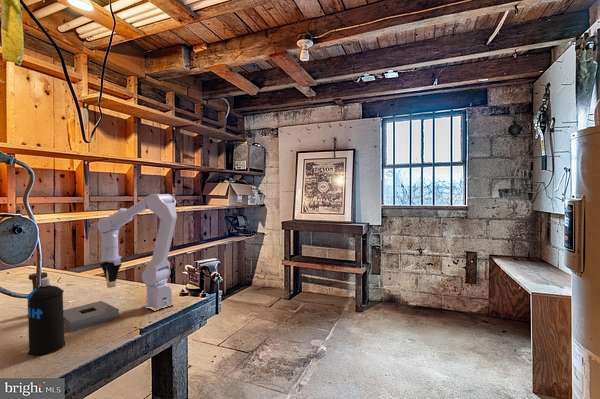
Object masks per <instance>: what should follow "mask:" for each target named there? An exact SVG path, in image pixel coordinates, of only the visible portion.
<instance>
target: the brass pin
mask: <svg viewBox="0 0 600 399" xmlns="http://www.w3.org/2000/svg"><path fill="white" fill-rule="evenodd" d="M106 273H107V280H106V288H108V289H110V288H114V287H116V284H117V283H116V281H113V282H110V281H109V277H108V272H107V269H106Z"/></svg>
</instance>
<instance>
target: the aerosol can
mask: <svg viewBox="0 0 600 399" xmlns="http://www.w3.org/2000/svg"><path fill="white" fill-rule="evenodd" d="M63 293H64V289H62V288H61V287H59V286H56V285H51V283H50V278H49V277H46V278H44V279H41V287H39V288H37V289H35V290H33V289H32V291H31V292H30V293H29V294H28V295H27V296H26V299H27V320H28V321H27V322H28V323H27V326H28V352H27V355H29V356H30V357H42V356H46V355H49V354H52V353H55V352H57V351H60V350H62V349H63V348H64V347H65V345H66V342H65V326H64V317H63V310H64V294H63Z"/></svg>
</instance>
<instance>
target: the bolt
mask: <svg viewBox="0 0 600 399" xmlns="http://www.w3.org/2000/svg"><path fill="white" fill-rule="evenodd" d="M37 273H38V272H35V273H30V274H29V275H28V280H29V281H31V284H32V291H33V290H35V288H36V278H37ZM44 278H48V273H47V272H46V271H45V272H41V279H44ZM40 287H41V286H40Z"/></svg>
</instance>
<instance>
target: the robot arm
mask: <svg viewBox="0 0 600 399" xmlns="http://www.w3.org/2000/svg"><path fill="white" fill-rule="evenodd" d="M176 204H177V200H176V199H175V198H174V197H173V195H172V194H170V193H162V194H161V193H150V194H149V195H147V196H144V197H143V198H142V199H141V200H139V201H138V202H137V203H135V204H133V205H132V206H131V207H129V208H125V207H124V208H118V210H117V211H116V212H114V213H110V214H109V216H108V217H101V218H100V219H99V220H98V221H97V224H96V225H97V226H96V227H97V230H98V231H99V232H100V234H101V236H100V240H101V256H100V262H103V263H99V266H100V268H101V269H102V271H103V274H104V278H105V280H106V281H107V273H106V269H107V272H108V277H109V281H110V282H113V281H115V282H117V279H118V274H119V271H120V268H121V267H122V262H121V261H122V260H121V259H122V258H123V257H122V256H120V255H119V234H120V230H121V228H122V227H123V226H124V225H126V224H128V223H130V222H131V221H133V219H134V216H136V215H138V214H141V213H142V212H144V211H146V210H149V211H151V212H152V213H153V214H155V215H156V216H157V217H158V218H159V220H160V223H159V226H158V232H157V235H156V239H155V244H154V248H153V253H152V257H151V259H150V261H148V263H147V264H146V266H145V268H144V270H143V272H142V273H141V280H142V282H143V284H144V285H145V286H146V304H143V305H142V307H143V308H146V307H153V308H156V309H158V308H161V307H164V306H168V305H172V304H173V301H172V300H173V298H172V288H171V287H170V286H169V285H168V280H169V279H168V278H169V277H170V276H171V268H170V267H171V262H170V261H169V260H168V258H169V255H170V254H169V253H170V249H171V244H172V240H173V235H174V233H175V228H176V223H177V218H178V214H177V210H176V209H177V208H176ZM146 309H147V308H146Z"/></svg>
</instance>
